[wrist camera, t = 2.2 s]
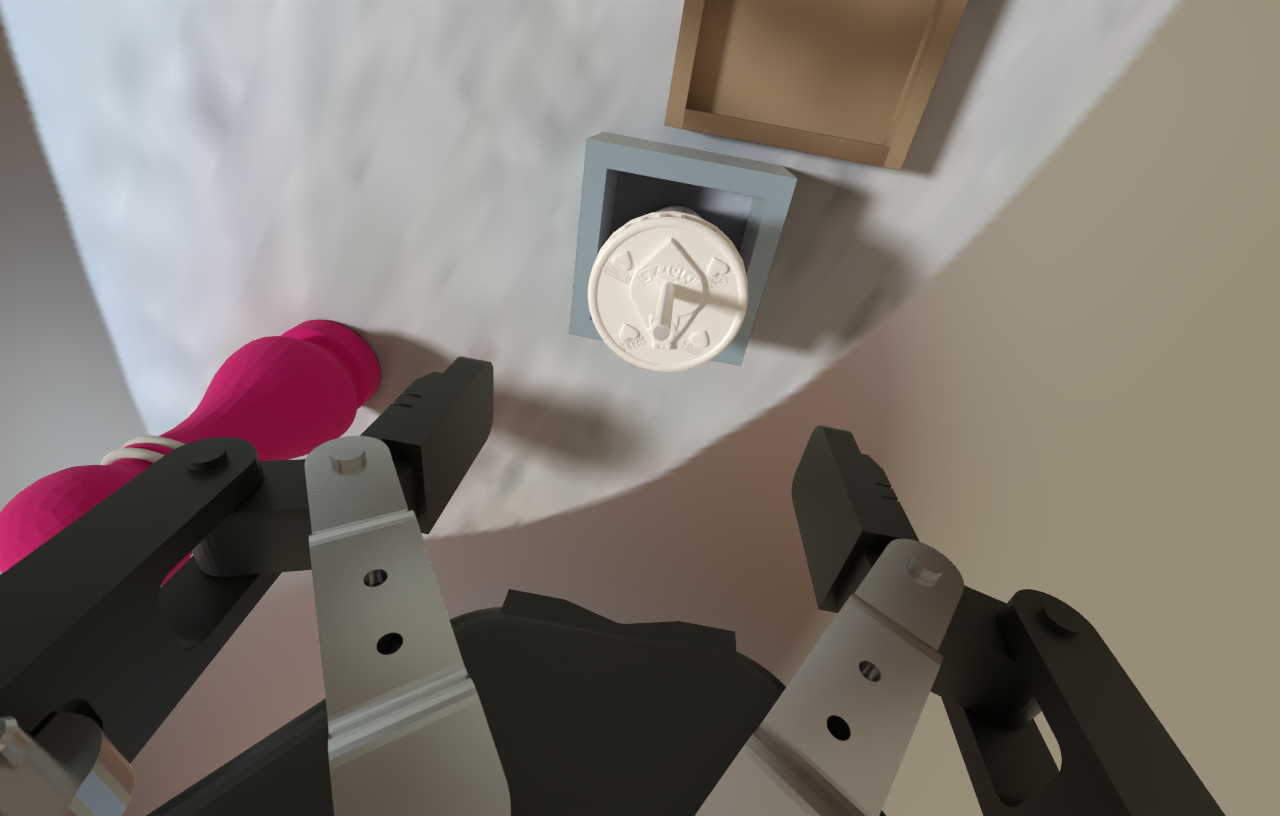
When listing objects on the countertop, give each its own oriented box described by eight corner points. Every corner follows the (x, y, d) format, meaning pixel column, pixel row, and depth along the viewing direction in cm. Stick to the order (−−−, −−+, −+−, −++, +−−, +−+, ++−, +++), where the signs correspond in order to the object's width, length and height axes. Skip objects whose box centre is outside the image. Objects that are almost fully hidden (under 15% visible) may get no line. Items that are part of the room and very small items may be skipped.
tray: (721, -207, 19) (723, -240, 17) (1006, -152, 19) (1040, -179, 17) (666, 123, 25) (664, 125, 23) (884, 164, 25) (900, 170, 23)
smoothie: (742, 181, 26) (781, 255, 14) (725, 301, 29) (745, 440, 18) (619, 173, 26) (556, 238, 14) (616, 292, 30) (563, 423, 18)
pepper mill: (333, 292, 31) (-87, 523, 15) (410, 384, 35) (138, 662, 18) (259, 338, 34) (-178, 584, 17) (338, 420, 37) (35, 698, 20)
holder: (602, 132, 25) (586, 138, 22) (782, 166, 25) (797, 178, 22) (584, 303, 30) (569, 333, 26) (735, 332, 30) (740, 366, 27)
